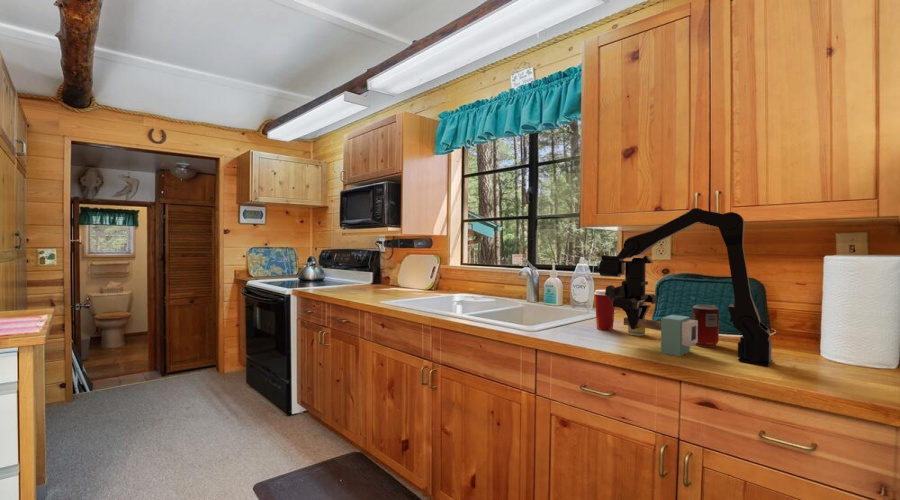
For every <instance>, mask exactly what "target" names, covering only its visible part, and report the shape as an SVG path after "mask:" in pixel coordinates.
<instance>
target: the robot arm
mask: <svg viewBox="0 0 900 500" xmlns="http://www.w3.org/2000/svg"><path fill="white" fill-rule="evenodd" d="M696 224H703V225H708V226H712V227H715V228H718V230H719V234H720V235H721V237H722V240H723V243H724V245H725V247H726V251H727V258H728V265H729V272H730V277H731V285H732V289H733V290H732V291H733V296H734V299H733V300H734V301H733V304H731V303H730V304H729V305H728V306H727V309H728V312H729V315H730V320H729V323H733V324H732V325H733V326H734V329H736V330H737V331H739V332H740V333H741V336H740V338H739V339H740V341H738V342H737V358H738V359H737V361H738V362H743V363H748V364H755V365H761V366H766V367H768V366H770V365H771V364H772V363H774V362H773V361H774V359H772V338H770V335H771V334H770V333H771V332H770V331H771V330H770V328H769V327H768V326H766V325H765V324H764V323H763V322H762V321H761V317H760V314H759V312H758V308H757V306H756V305H755V304H756V303H755V301H754V299H753V297H752V293H751V287H750V279H749V273H748V268H747V261H746V255H745V250H744V241H745V240H744V239H745V229H746V228H745V227H746V226H745V225H746V224H745V220H744V218H743V216H742V215H741V214H739V213H737V212H734V211H732V212H731V211H730V212H725V213H719V212H715V211H709V210H704V209H701V208H699V207H695V208H691V209H690V210H688V211H687V212H685V213H683V214H681V215H680V216H677V217H676V218H674V219H672V220H670V221H668V222H666V223H664V224H662V225H660V226H658V227H656V228H654V229H653V230H650V231H647V232H644V233H643V232H642V233H640V234H637V235H634V236H630V237H627V239H625V240H624V243H623V248H621V250H620V251H619V253H618V254H617V255H609V254H608V255H607V254H604V255H603V254H602V255H601V259H600V261H599V265H598V273H599V275H600V276H601V277H612V278H620V277H621V276H622V275H623V274H624V279H625V280H622V281H621V285H619V286H616V287H615V286H614V285H612V284H611V285H607V286H605V289H604V290H605V292H606V293H605V295H607V296H608V298H609V300H611V299H613V300H612V307H615V308H618V309H621V310H622V311H624V312H625V314H626V317H628V321H629V324H630V327H631V329H635V328H639V327H636V325H637V323H638V320H639V319H644V317H645V318H646V314H647V313H648V311H649V309H650V308H651V305H654V304H658V297H657V296H656V295H655V294H654V293H646V286H647V285H649V281H647V280H646V273H647V271H646V270H647V269H646V266H647V265H646V264H653V263H654V261H653V260H652V259H651V258H650V257H649V255H644V254H646V253H647V252H648V251H650V250H651V249H653V248H654V247H655V246H657V244H659V243H660V242H662V241H663V240H666V239H668V238H670V237H673V236H674V235H676V234H677V233H680V232H682V231H684V230H686V229H688V228H690V227H692V226H694V225H696ZM642 255H644V256H643V257H638V256H642ZM635 256H636V257H635ZM626 259H627V260H626ZM628 259H631V260H628ZM647 303H650V304H651V305H650V304H649V305H647Z"/></svg>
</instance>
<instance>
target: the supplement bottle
mask: <svg viewBox="0 0 900 500" xmlns="http://www.w3.org/2000/svg"><path fill="white" fill-rule="evenodd" d="M644 319H646V316H645V317H644ZM627 334H629V335H631V336H639V337H641V336H642V337H643V336H645V335H646V328H642V327H639V328H635V329H631V327H630V326H628V325H627Z"/></svg>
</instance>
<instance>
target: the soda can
mask: <svg viewBox="0 0 900 500" xmlns="http://www.w3.org/2000/svg"><path fill="white" fill-rule="evenodd" d="M719 314H720V309H719V307H718V306H716V305H713V304H701V303H700V304H694V305H693V306H692V308H691V320H698V339H697V343H696V344H694V345H695V346H697V347H702V348H716V346H717V344H718V343H719V339H720V337H719V335H720V333H719V331H720V330H719V329H720V327H719V325H720V319H719V317H720V315H719Z"/></svg>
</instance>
